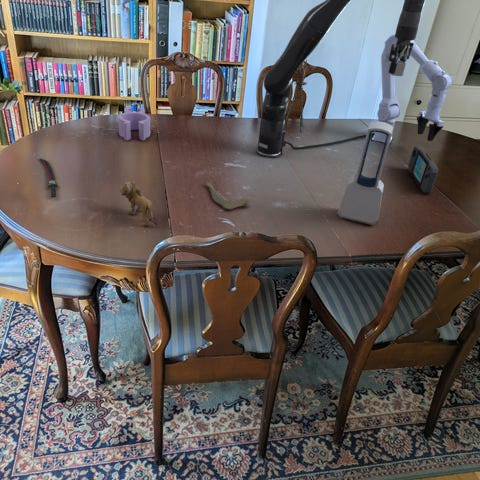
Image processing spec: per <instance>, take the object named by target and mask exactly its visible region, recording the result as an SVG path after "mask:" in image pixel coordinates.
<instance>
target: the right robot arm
mask: <svg viewBox="0 0 480 480" xmlns="http://www.w3.org/2000/svg"><path fill="white" fill-rule="evenodd" d="M397 40H398V39H397V38H396V37H395V34H392V35H390V36H389V37H388V38H387V39H386V40H385V41H384V48H383V50H382V53H381V57H380V59H381V60H380V62H381V93H382V95H381V96H382V97H381V98H382V99H381V101H380V102H379V103H378V110H377V112H376V113H377V118H378V120H377V122H385V123H387V124H390V125H391V126H393V129H394V127H395V125H396V124H395V123H396V120H397V118H399V116H400V115H401V107H400V105H399V100H398V99H397V96H396V76H392V75H391V74H389V73H388V70H389V66H390V61H389V56H390V51H391V46H392V44H396V43H397ZM410 42H412V43H414V45H413V48H412V51H411V54H410V57H411V58H412V59H414V61H415V62H416V63H417V64H418V65H419V66H420V71H421V73H422V74H423V75H424V76H425V77H426V79H428V81H429V82H430V83H431V88H432V90H431V92H430V96H429V98H428V103H427V105H426V109H425V110H421V109H420V110H419V113H418V115H419V116H416V121H417V122H416V123H417V135H423V134H424V132H425V130H426V127H427V125H428V127H429V128H428V129H429V130H428V134H427V141H428V142H433V141H434V139H435V137H436V136H437V135H438V133H439V132H440V131H441V130H442V129H444V124H445V123H444V121H443V120H442V118H441V117H440V116H441V112H442V109H443V106H444V103H445V100H446V97H447V94H448V92H449V91H448V90H449V88H451V87H452V85H453V82H454V80H453V79H454V78H453V77H452V75H451V74H449V73H446V71H445V70H443V69H442V68H441V67H440V66H439V65H438V64H439V62H438V61H437V60H435V61H434V59H430V60H429V59H428V57H427V56H426V55H425V54H424V52H423V51H422V49H420V47H419V46H418V45H417V43H416V41H415V40H411V41H410ZM392 56H393V55H392ZM429 122H431V123H429ZM374 133H375V135H372V137H371V140H372V141H375V142H380V143H384V144H385V140H386V136H387V135H385V134H383V133H380V132H374ZM388 137H389V136H388ZM392 139H393V136H391V140H390V143H391V141H392ZM387 141H388V140H387ZM390 143H389V145H390Z"/></svg>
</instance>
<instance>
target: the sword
mask: <svg viewBox="0 0 480 480" xmlns="http://www.w3.org/2000/svg"><path fill="white" fill-rule="evenodd" d="M40 161H41V162H42V163H43V165H44V166H45V169H46V173H47V176H48V185H47V188H50V198H56V197H57V189H56V188H57V187H59V185H58V184H57V183H56V180H55V176H54V172H53V169H52V167H51V164H50V163H49V161H48V160H46V159H43V158H40Z"/></svg>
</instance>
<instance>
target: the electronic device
mask: <svg viewBox="0 0 480 480" xmlns="http://www.w3.org/2000/svg"><path fill="white" fill-rule="evenodd" d="M375 132H380V133H383V134H385V135H387V136H386V140H385V143H384V144H383V148H382V150H381V151H382V152H381V155H380V159H379V162H378V166H377V169H376V172H375V177H368V176H365V175H363V174H362V173H363V171H364V166H365V162H366V158H367V154H368V150H369V147H370V142H371V140H372V136H373V135H372V133H375ZM393 132H394V128H393V126H391V125H390V124H387V123H385V122H378V121H370V123H369V125H368V128H367V130H366V134H367V135H366V134H365V135H366V137H365V140H364V143H363V147H362V152H361V156H360V160H359V164H358V167H357V171H356V174H354V175H352V176H350V177H349V179H348V182H347V185H346V188H345V190H344V194H343V196H342V198H341V202H340V204H339V207H338V210H337V215H338V217H339V218H340V219H345V220H349V221H353V222H357V223H361V224H366V225H370V226H374V225H376V224H377V223H378V222H379V216H380V211H381V204H382V199H383V193H384V187H385V184H384V183H383V181H382V180H381V179H380V178H381V176H382V172H383V168H384V165H385V161H386V158H387V154H388V150H389V146H390V144H389V143H391V142H390V140H391V137H393ZM369 134H370V135H369ZM388 136H389V137H388ZM387 140H388V141H387ZM391 141H392V140H391Z"/></svg>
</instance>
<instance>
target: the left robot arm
mask: <svg viewBox="0 0 480 480" xmlns="http://www.w3.org/2000/svg"><path fill="white" fill-rule="evenodd" d="M351 1H352V0H324V1H323V2H321V3H319V4H317V5H315V6H314V7H312V8H311V9H310V10H308V12H307V13H306V14H305V15H304V17H303V19H302V20H301V21H300V23H299V25H298V27H297V28H296V29H295V31H294V33H293V34H292V35H291V38H290V40H289V41H288V43H287V45H286V47H285V49H284V50H283V52H282V53H281V55H280V57H279V58H278V59H277V60H276V62H275V63H274V64H273V65H272V66H271V67H270V69H269V70H268V71H267V72H266V73H265V75H264V78H263V87H264V90H265V95H264V98H263V101H262V105H261V114H260V123H259V131H258V138H257V139H258V140H257V148H256V153H257V154H258V155H259V156H262V157H264V158H265V157H266V158H277V157H279V156H281V155H282V154H283V149H284V148H285V147H286V145H288V146H290V148H292V149H294V150H304V149H310V148H318V147H325V146H330V145H335V144H341V143H344V142H349V141H353V140H356V139H361V138H366V135H367V133H366V134H362V135H358V136H357V135H356V136H353V137H349V138H345V139H341V140H336V141H331V142H324V143H319V144H311V145H310V144H309V145H304V146H294V145H293V143H291V142H289V141H286V140H285V136H286V130H285V129H284V125H285V122H286V121H285V120H286V117H287V108H288V105H289V103H290V97H291V92H292V91H291V90H292V83H293V77H294V75H295V74H296V73H297V72H296V70H297V69H298V68H299V69H300V66H301V65H302V64H303V63H304V61H306V60H307V59H308V57H310V55H311V54H312V53H313V52H314V51H315V49H316V48H318V46H319V45H320V43H321V42H322V41H323V39H324V38H325V37H326V35H327V34H328V33H329V31H330V29H331V28H332V26H333V25H334V23H335V22H336V21H337V19H338V18H339V17H340V15H341V14H342V13H343V11H344V10H345V9H346V7H348V5H349V4H350V3H351ZM425 3H426V0H404V1H403V4H402V8H401V12H400V14H399V16H398V21H397V24H396V28H395V33H394V35H395V37H396V38H397V39H398V40H397V43H396V44H392V46H391V51H390V56H389V61H390V62H391V65H390V69H389V73H392V74H394V73H395V71H396V67H397V63H398V61H399V60H400V61H403V62H404V63H406V62H407V60H410V57H411V56H410V54H411V51H412V48H413V45H414V43H412V42H410V41H411V40H414V41H415V40H416V38H417V34H418V31H419V27H420V23H421V20H422V14H423V10H424V6H425ZM392 55H393V56H392ZM369 135H370V134H369ZM374 135H375V132H372V135H371V136H374Z"/></svg>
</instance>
